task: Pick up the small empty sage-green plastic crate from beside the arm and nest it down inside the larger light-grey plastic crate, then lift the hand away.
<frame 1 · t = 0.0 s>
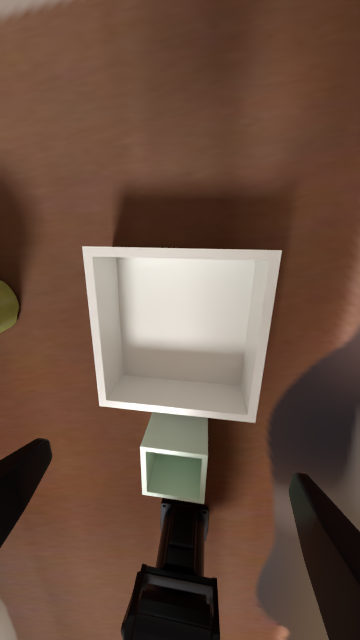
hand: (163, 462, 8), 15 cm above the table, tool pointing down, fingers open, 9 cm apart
big crate: (182, 322, 22), on the table
small crate: (179, 435, 26), on the table
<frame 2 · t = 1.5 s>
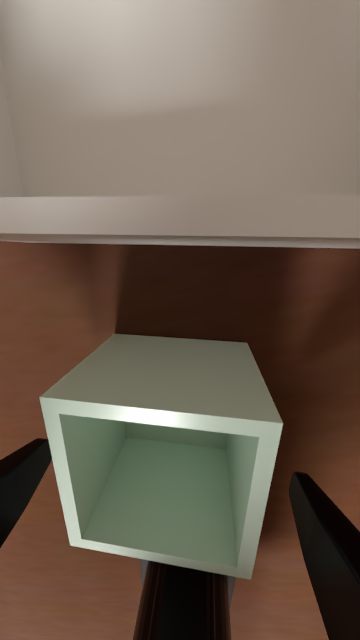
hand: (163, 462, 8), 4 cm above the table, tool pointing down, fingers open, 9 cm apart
big crate: (185, 18, 7), on the table
small crate: (177, 394, 11), on the table
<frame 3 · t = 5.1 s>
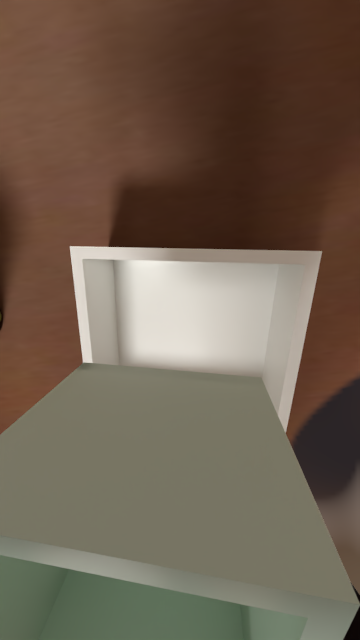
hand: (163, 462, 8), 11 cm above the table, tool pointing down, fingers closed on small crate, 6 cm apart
big crate: (190, 336, 18), on the table
small crate: (167, 440, 9), point 11 cm above the table, touching gripper
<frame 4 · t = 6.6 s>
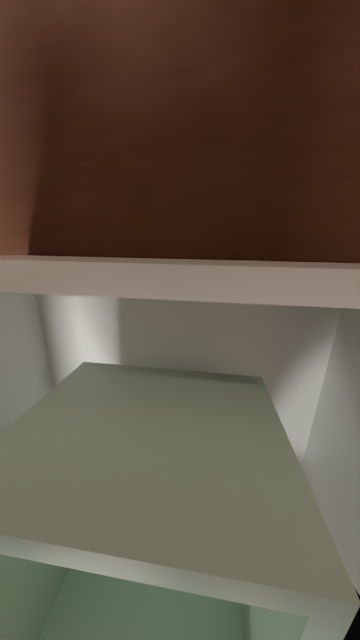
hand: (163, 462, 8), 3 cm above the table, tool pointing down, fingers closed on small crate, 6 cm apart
big crate: (176, 399, 11), on the table
small crate: (167, 439, 9), point 2 cm above the table, touching gripper
when the fingers open (3 cm above the table, at t = 7.6 s): small crate drops 1 cm, resting on big crate.
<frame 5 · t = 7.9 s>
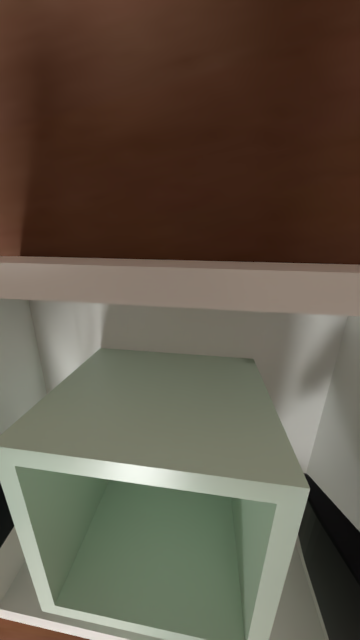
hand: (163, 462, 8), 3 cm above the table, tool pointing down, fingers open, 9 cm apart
big crate: (175, 406, 11), on the table
small crate: (173, 416, 10), point 1 cm above the table, touching big crate
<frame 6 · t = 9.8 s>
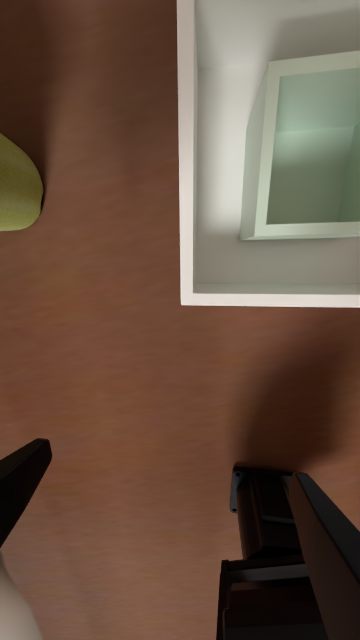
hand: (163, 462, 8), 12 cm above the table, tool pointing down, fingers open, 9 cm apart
big crate: (289, 189, 14), on the table
plant pot: (11, 188, 17), on the table
small crate: (293, 186, 14), point 1 cm above the table, touching big crate
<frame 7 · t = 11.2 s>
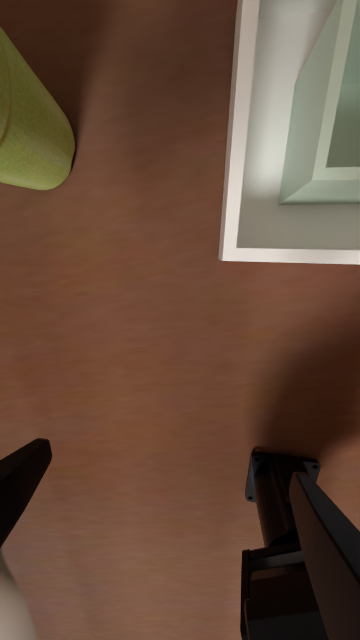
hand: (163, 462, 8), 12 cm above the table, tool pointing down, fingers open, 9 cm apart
big crate: (333, 151, 14), on the table
plant pot: (41, 146, 16), on the table
small crate: (340, 146, 13), point 1 cm above the table, touching big crate
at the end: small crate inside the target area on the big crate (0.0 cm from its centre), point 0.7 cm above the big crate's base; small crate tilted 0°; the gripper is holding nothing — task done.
